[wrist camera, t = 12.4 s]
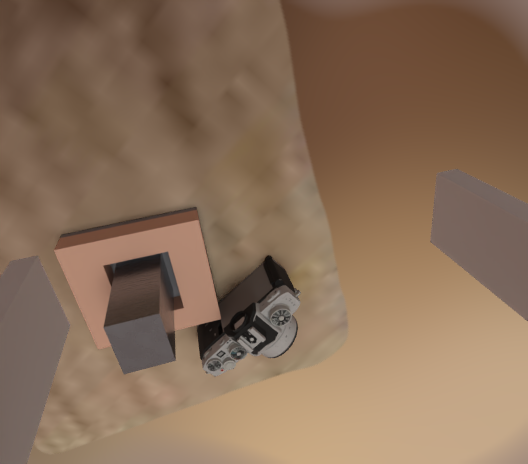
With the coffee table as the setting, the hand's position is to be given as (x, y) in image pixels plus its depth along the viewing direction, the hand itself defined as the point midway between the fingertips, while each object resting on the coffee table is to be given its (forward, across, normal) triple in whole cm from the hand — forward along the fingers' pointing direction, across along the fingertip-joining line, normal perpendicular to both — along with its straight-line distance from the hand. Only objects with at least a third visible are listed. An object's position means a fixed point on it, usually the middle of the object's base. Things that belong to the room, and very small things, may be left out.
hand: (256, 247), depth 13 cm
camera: (+32, +2, -27) cm, 42 cm away
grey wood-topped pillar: (+31, -10, -19) cm, 37 cm away
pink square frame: (+31, -10, -19) cm, 38 cm away
